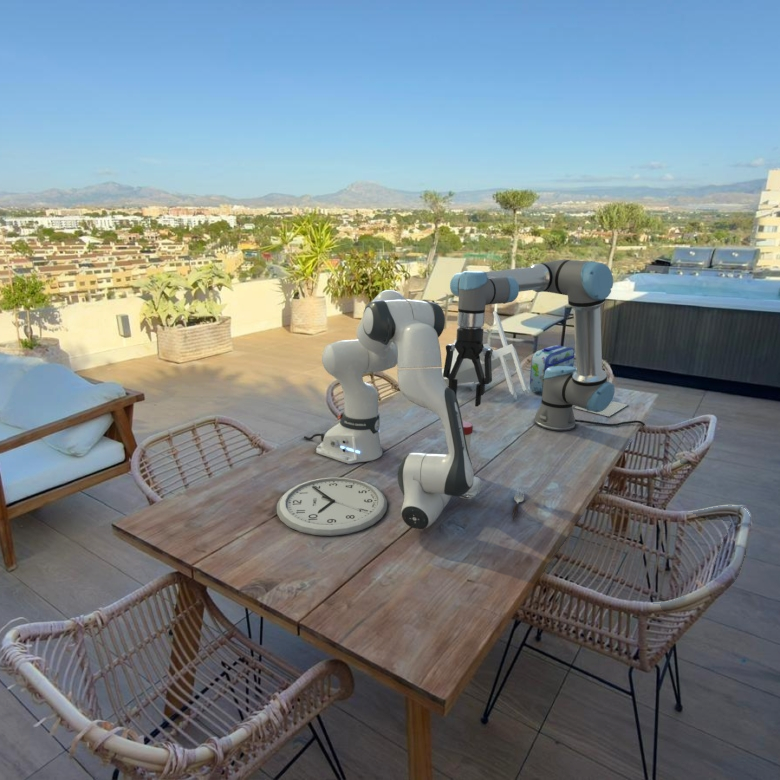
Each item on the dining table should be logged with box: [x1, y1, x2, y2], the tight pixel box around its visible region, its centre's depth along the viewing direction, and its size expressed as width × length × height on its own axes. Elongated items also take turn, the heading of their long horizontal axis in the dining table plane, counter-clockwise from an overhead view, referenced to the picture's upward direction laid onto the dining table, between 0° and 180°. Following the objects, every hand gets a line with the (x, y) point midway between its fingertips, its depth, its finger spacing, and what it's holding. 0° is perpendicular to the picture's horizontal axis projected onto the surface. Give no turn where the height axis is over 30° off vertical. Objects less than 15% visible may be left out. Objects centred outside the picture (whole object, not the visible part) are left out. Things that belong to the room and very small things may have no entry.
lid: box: [462, 420, 474, 435], centre depth 158 cm, size 5×5×2 cm
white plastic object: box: [442, 310, 531, 400], centre depth 245 cm, size 37×45×31 cm
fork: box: [512, 487, 526, 521], centre depth 143 cm, size 3×16×2 cm, turn 160°
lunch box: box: [529, 345, 575, 394], centre depth 245 cm, size 26×11×21 cm, turn 134°
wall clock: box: [276, 476, 388, 537], centre depth 142 cm, size 30×2×30 cm
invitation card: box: [573, 400, 629, 418], centre depth 226 cm, size 21×1×15 cm
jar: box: [465, 433, 472, 456], centre depth 160 cm, size 4×4×16 cm
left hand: (451, 469), depth 152 cm, fingers open, 8 cm apart
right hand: (465, 402), depth 156 cm, fingers open, 7 cm apart
